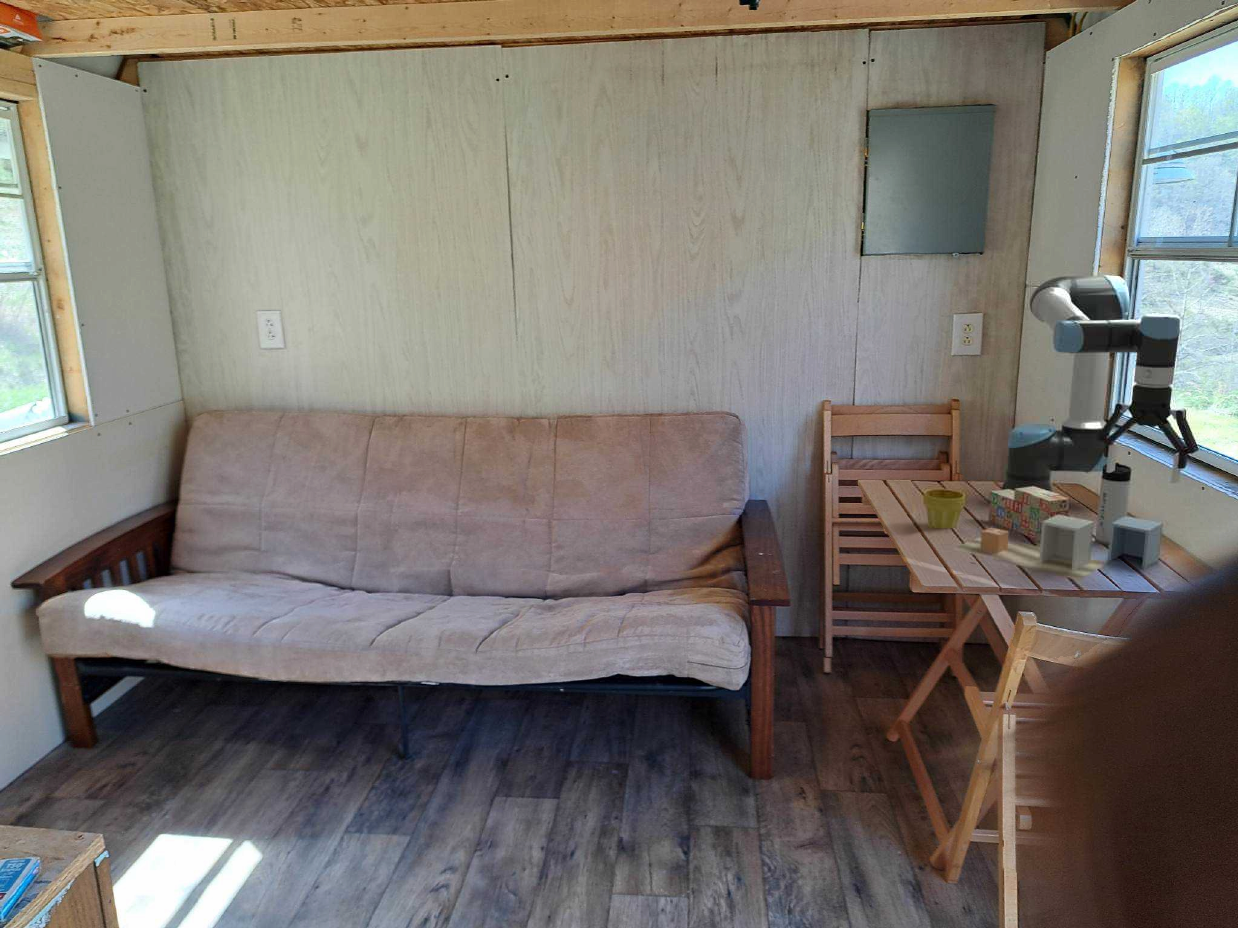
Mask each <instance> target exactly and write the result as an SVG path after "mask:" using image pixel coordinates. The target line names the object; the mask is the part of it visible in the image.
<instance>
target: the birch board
mask: <svg viewBox="0 0 1238 928" xmlns="http://www.w3.org/2000/svg"><path fill="white" fill-rule="evenodd" d="M952 550H955V551H959V552H964V553H967V554H971V555H975V556H979V557H983V558H987V559H991V560H995V561H999V562H1002V563H1007V564H1011V565H1015V566H1019V567H1023V568H1027V569H1031V570H1036V571H1040V572H1043V573H1047V574H1050V575H1051V574H1052V575H1055V576H1060V577H1064V578H1066V579H1071V580H1075V581H1079V580H1081V579H1083V578H1085V577H1086V576H1088V575H1090V574H1092V573H1094V572H1096V571H1097V570H1099V569H1101V568H1103V567H1105V566H1106V565H1109V562H1106V561H1102V560H1097V559H1092V558H1090V563H1088V564H1087V565H1085V566H1083V567H1081V568H1079V569H1077V570H1076V571H1071V570H1072V560H1071V559H1067V558H1063V557H1058V556H1055V557H1053V558H1051V559H1049V560H1047V561H1045V562H1043V563H1039V556H1040V546H1037V545H1032V544H1028V543H1024V542H1019V541H1014V540H1010V539H1008V547H1007V549H1006V550H1004V551H1002V552H1000V553H996V552H991V551H987V550H983V549H981V536H979V537H976V538H975V539H972V540H970V541H968V542H965V543H962V544H960V545H958V546H956V547H952Z"/></svg>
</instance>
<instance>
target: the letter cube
mask: <svg viewBox="0 0 1238 928" xmlns="http://www.w3.org/2000/svg"><path fill="white" fill-rule="evenodd" d="M980 537H981V549H983V550H987V551H991V552H996V553H1000V552H1002V551H1004V550H1006V549H1007V547H1008V540H1009V530H1005V529H999V528H996V527H988V528H986V529H984V530H981V535H980Z"/></svg>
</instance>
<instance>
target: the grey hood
mask: <svg viewBox="0 0 1238 928" xmlns="http://www.w3.org/2000/svg"><path fill="white" fill-rule="evenodd" d="M1093 532H1094V521H1092V520H1088V519H1083V518H1076V517H1071V516H1069V515H1068V516H1063V515H1056V516H1054V517H1052V518H1050V519H1047V520H1045V521H1043V522H1042V532H1041V542H1040V546H1039V547H1040V556H1039V563H1043V562H1045V561H1047V560H1049V559H1051V558H1053V557H1055V556H1058V557H1063V558H1067V559H1071V560H1072V570H1071V571H1076V570H1077V569H1079V568H1081V567H1083V566H1085V565H1087V564H1088V563H1090V559H1091V554H1092V553H1091V551H1092V541H1093Z"/></svg>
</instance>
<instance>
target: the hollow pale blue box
mask: <svg viewBox="0 0 1238 928" xmlns="http://www.w3.org/2000/svg"><path fill="white" fill-rule="evenodd" d="M1163 526H1164V525H1163V522H1159V521H1153V520H1147V519H1143V518H1137V517H1132V516H1128V515H1127V516H1125V517H1123V518H1121V519H1119V520H1117V521H1115V522H1113V523H1111V532H1110V542H1109V545H1108V552H1107V561H1110V562H1111V561H1113V560H1115V559H1117V558H1118V557H1120V556H1121V555H1123V554H1124V555H1128V556H1134V557H1136V558H1137V557H1138V558H1142V564H1141V568H1142V569H1147V568H1149V567H1151V566H1152V565H1154V564H1155V563H1156V562H1158V561H1159V558H1160V550H1161V543H1162V542H1161V541H1162V533H1163V528H1164V527H1163ZM1151 564H1152V565H1151Z"/></svg>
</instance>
